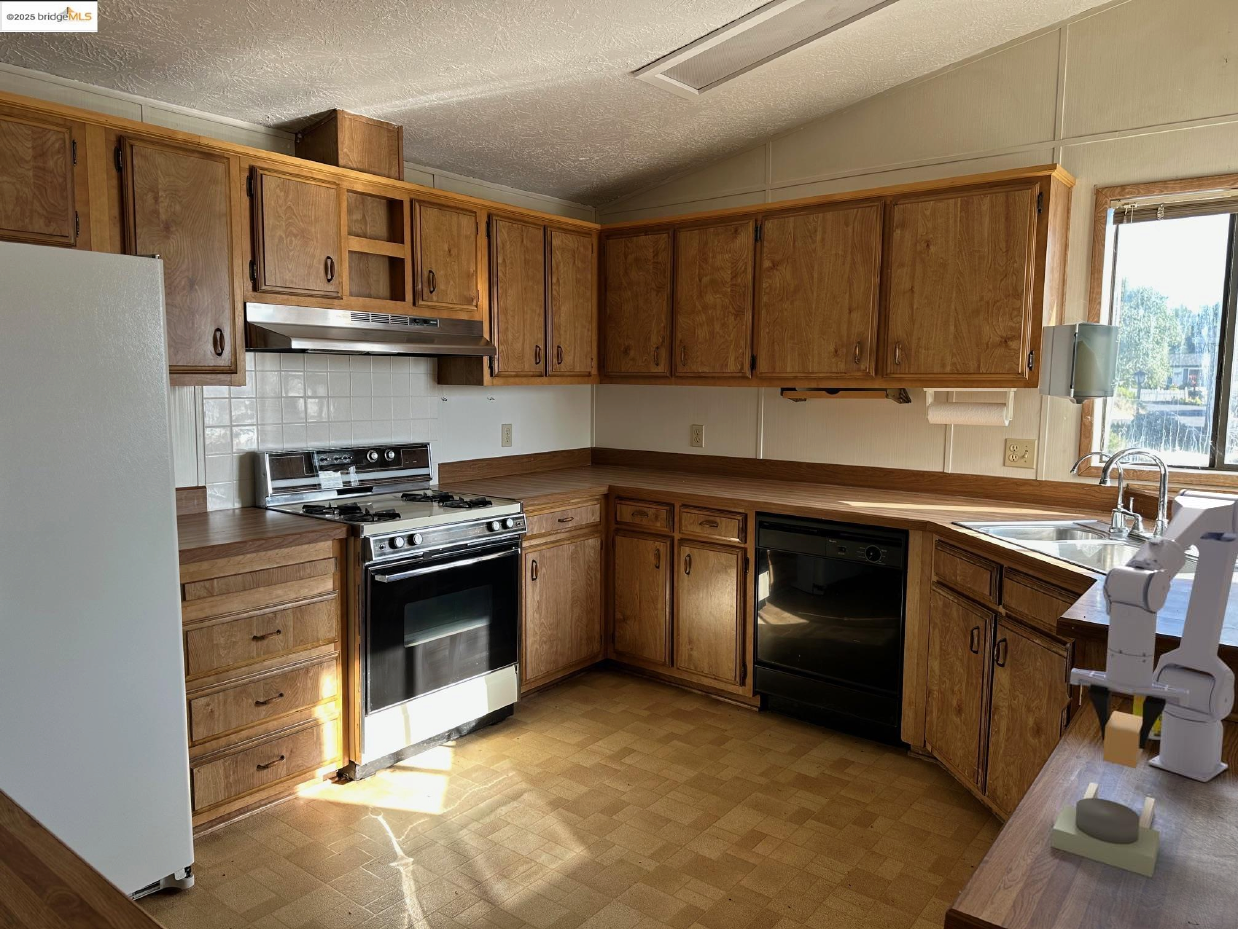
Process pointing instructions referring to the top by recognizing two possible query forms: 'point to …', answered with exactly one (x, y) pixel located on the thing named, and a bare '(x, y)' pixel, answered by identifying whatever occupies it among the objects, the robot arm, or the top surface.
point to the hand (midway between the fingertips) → (1124, 742)
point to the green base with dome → (1109, 833)
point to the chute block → (1123, 739)
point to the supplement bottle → (1138, 711)
